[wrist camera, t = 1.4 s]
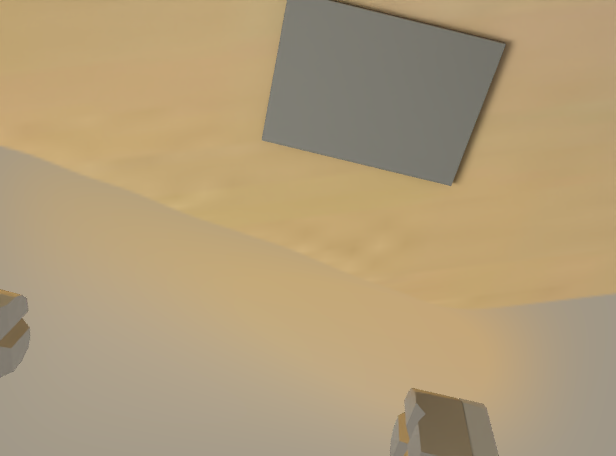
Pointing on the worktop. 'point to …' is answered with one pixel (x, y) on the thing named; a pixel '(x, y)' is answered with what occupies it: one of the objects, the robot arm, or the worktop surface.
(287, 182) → the worktop surface
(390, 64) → the mat
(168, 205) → the worktop surface
